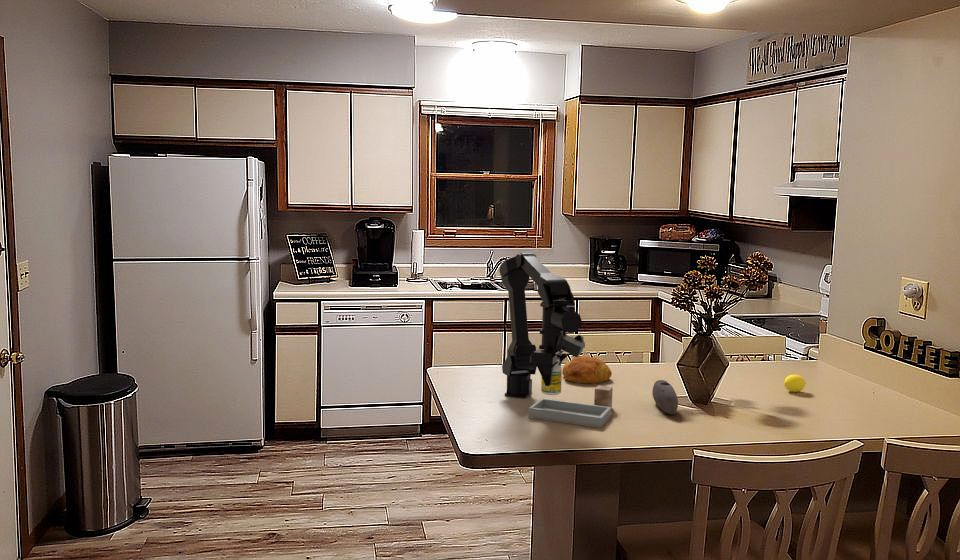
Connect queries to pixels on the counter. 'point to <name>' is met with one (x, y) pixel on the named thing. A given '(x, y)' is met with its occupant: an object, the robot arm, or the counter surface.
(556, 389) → the supplement bottle
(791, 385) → the lemon
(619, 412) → the counter surface
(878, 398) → the counter surface
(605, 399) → the block
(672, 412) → the perforated stone tool
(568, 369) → the croissant
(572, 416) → the tray
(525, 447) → the counter surface
